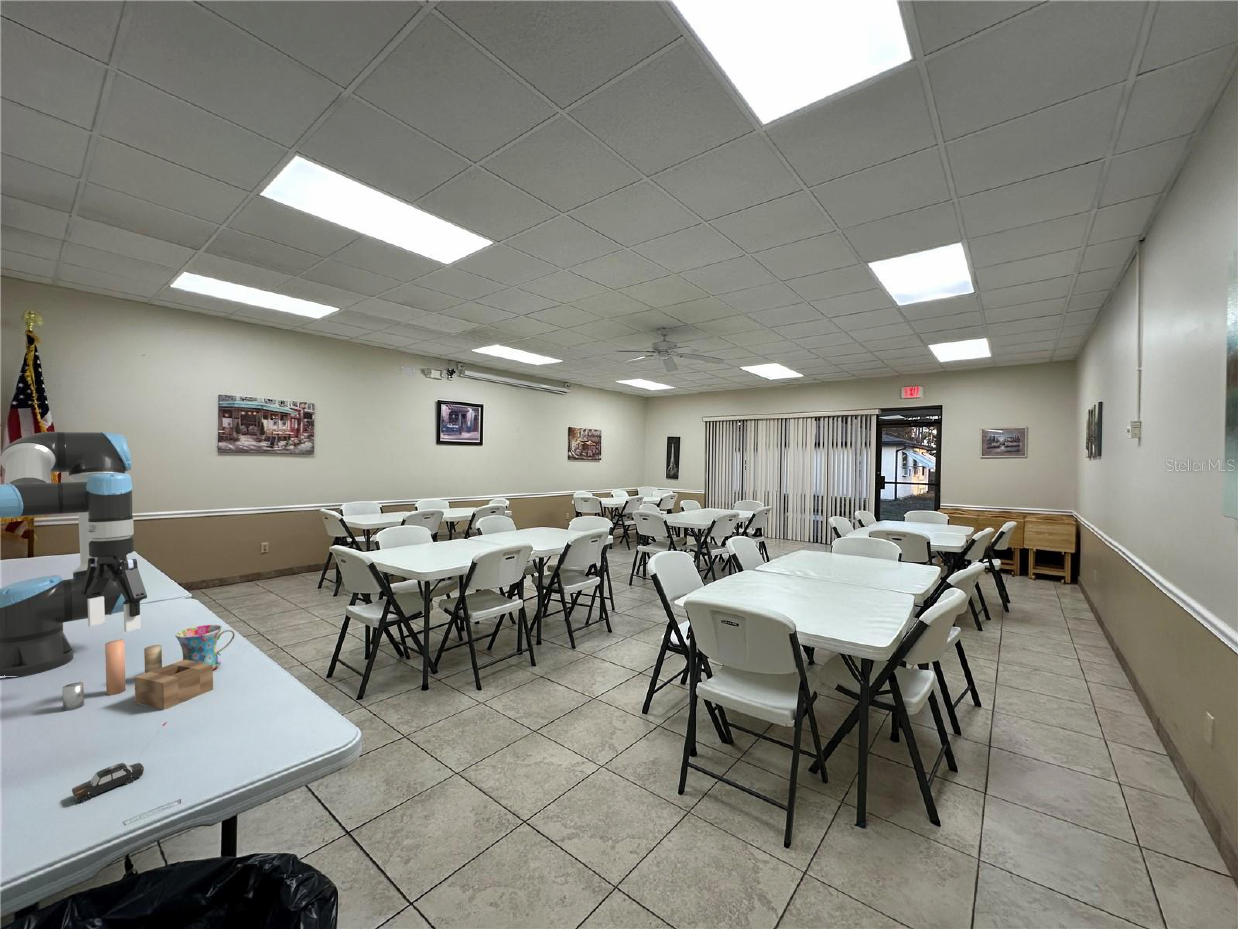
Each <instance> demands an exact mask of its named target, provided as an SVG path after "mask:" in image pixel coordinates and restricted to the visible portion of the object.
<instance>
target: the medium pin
mask: <svg viewBox="0 0 1238 929" xmlns="http://www.w3.org/2000/svg"><path fill="white" fill-rule="evenodd" d="M162 650H163V649H162V645H161V644H154V645H150V646H146V647H145V648H144V649H143V652H144V653H143V654H144V655H143V659H144V674H145V673H147V672H150V671H153V670H156V669H159V668H162V667H163V658H162V657H163V654H162Z"/></svg>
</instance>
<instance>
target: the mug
mask: <svg viewBox="0 0 1238 929" xmlns="http://www.w3.org/2000/svg"><path fill="white" fill-rule="evenodd" d="M222 628H223V627H222V625H219V624H207V625H206V624H205V625H199V626H194V627H189V628H186V629H183V630H180V631H178V632H177V633H176V634H175V638H176V639H177V641H178V642H179V645H180V647H181V651H182V660H190V661H195V662H200V663H206V664H211V665H213V670H215V669H217V668H219V667H220V666H221V664H222V661H221V660H220V658H219V657H218V656H222V654H221V653H220V652H222V651H224V650H225V649H226V648H227V647H228V646H229V645H230V644H231V643H232V642H233V641H234V638H235V637H236V636H235V634H236V633H235V631H234V630H232V629H226V630H223V631H222ZM227 632H230V633H232V637H231V639H230V640H229V642H227V643H226V645H224V646H223V647H222V648H220V649H219V650H217V643H218V641H219V640H220V639H221V638H220V637H221V636H222V635H223V634H225V633H227Z"/></svg>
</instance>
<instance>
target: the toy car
mask: <svg viewBox="0 0 1238 929" xmlns="http://www.w3.org/2000/svg"><path fill="white" fill-rule="evenodd" d="M167 723H168V721H165V722H164V723H163V724H162V726H161V727H160V729H161V728H163V727H164V726H165V725H166V724H167ZM160 729H159V730H160ZM158 733H159V731H157V732H156V734H158ZM155 736H156V735H154V736H153V737H152V739H154V738H155ZM149 743H150V742H149ZM149 743H147V744H146V746H148V745H149ZM145 748H146V747H145ZM145 748H143V750H142V751H141V753H143V752H144V750H145ZM139 755H140V756H139V758H138V759H140V758H141V755H142V754H139ZM144 771H145V768H144V766H143V764H141V763H140V760H138V762H136V763H133V764H126V763H124V762H121V763H117V764H116V763H115V764H114V765H112V766H108V767H106V768H103V769H101V770H99V771H97V772H96V773H94V774H93V776H92V777H91V779H89V780H88V781H86V782H84V783H83V782H82V783H81V784H79V785H77V786H74V787H73V788H72V789H71V792H72V795H73V800H74V801H75V803H86V802H87V801H91V799H92V798H93V797H95V796H97V795H99V794H101V793H103V792H106V791H108V790H111V789H114V788H116V787H118V786H121V785H123V784H124V785H125V786H127V785H131V784H133V783H134V782H135V780H136V779H137V778H141V777H142V776H143V774H144Z"/></svg>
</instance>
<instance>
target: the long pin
mask: <svg viewBox="0 0 1238 929" xmlns="http://www.w3.org/2000/svg"><path fill="white" fill-rule="evenodd" d="M104 648H105V649H104V651H105V652H104V653H105V682H106V683H105V685H106V688H105V689H106V696H114V695H119V694H122V693H124V692H125V691H126V660H125V659H126V658H125V640H124V639H116V640H115V639H114V640H111V641H108V642H106V643H105V644H104Z"/></svg>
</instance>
